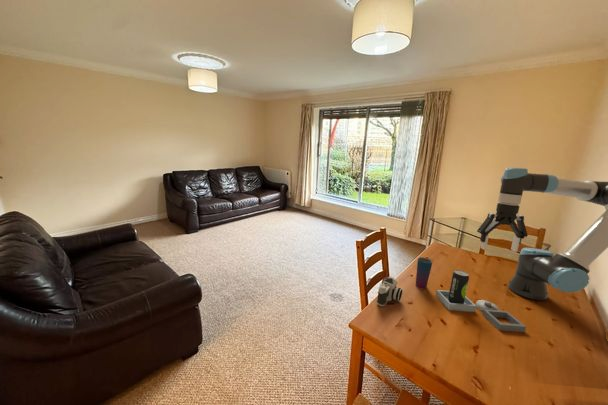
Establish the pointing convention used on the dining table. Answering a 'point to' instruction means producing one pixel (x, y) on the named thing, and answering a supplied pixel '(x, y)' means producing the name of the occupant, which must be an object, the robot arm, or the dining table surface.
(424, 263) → the cup
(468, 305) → the tray
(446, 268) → the dining table surface
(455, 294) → the beverage can
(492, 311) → the grey square frame
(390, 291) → the camera
